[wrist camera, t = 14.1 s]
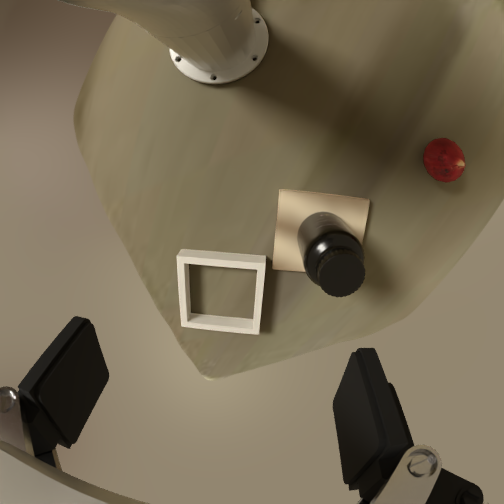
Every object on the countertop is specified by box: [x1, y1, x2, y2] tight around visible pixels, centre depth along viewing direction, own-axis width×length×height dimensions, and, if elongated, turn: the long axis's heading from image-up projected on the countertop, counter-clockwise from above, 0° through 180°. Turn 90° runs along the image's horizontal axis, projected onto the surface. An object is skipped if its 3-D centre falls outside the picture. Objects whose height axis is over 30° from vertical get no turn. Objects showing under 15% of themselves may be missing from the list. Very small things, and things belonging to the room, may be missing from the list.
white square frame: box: [177, 249, 266, 335], centre depth 42 cm, size 12×12×2 cm
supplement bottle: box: [297, 212, 365, 297], centre depth 33 cm, size 7×7×12 cm
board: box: [272, 189, 370, 272], centre depth 39 cm, size 11×12×1 cm
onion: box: [423, 138, 466, 182], centre depth 30 cm, size 6×6×8 cm
